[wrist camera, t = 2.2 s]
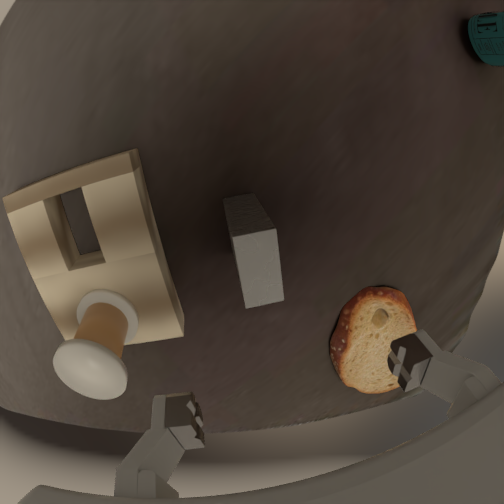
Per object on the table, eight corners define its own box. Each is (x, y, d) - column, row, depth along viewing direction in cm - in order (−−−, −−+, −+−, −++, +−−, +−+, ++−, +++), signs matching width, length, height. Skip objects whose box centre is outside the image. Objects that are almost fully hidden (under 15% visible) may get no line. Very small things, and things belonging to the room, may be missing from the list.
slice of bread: (395, 383, 41) (404, 399, 38) (297, 391, 37) (304, 412, 33) (452, 291, 34) (468, 306, 31) (352, 277, 30) (369, 297, 27)
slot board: (19, 188, 20) (2, 198, 17) (137, 147, 21) (128, 152, 18) (79, 332, 27) (72, 350, 24) (184, 315, 28) (183, 336, 25)
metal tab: (222, 198, 24) (232, 237, 17) (253, 192, 24) (276, 228, 17) (232, 253, 26) (245, 308, 19) (261, 247, 26) (284, 300, 19)
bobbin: (69, 294, 22) (39, 349, 16) (125, 283, 22) (104, 342, 16) (94, 342, 24) (77, 400, 18) (147, 335, 25) (138, 397, 19)
